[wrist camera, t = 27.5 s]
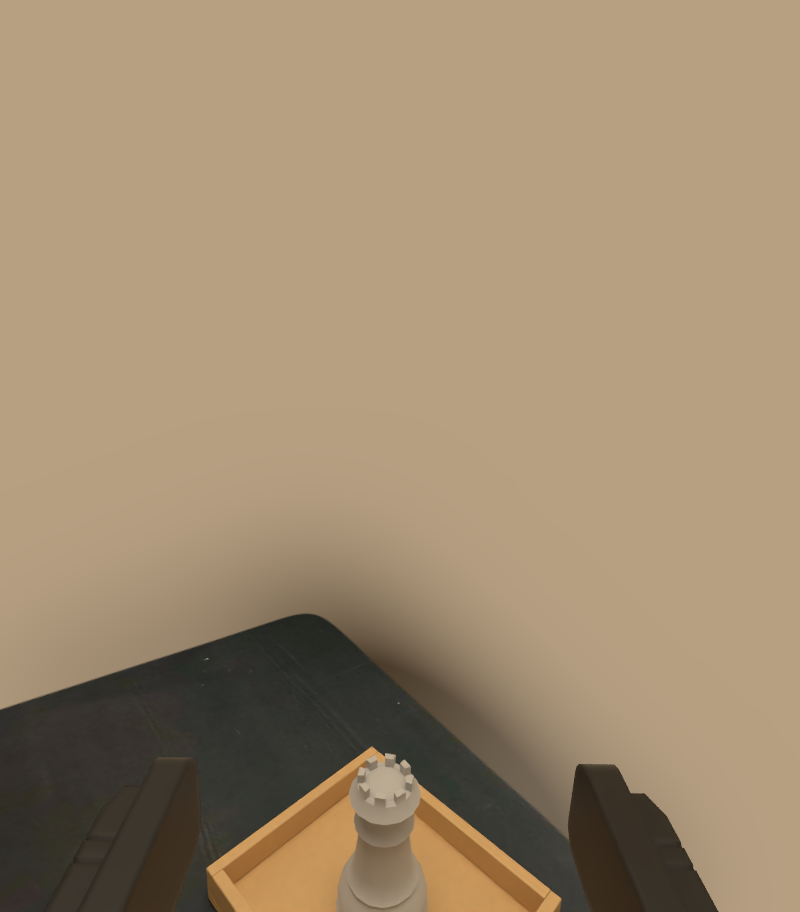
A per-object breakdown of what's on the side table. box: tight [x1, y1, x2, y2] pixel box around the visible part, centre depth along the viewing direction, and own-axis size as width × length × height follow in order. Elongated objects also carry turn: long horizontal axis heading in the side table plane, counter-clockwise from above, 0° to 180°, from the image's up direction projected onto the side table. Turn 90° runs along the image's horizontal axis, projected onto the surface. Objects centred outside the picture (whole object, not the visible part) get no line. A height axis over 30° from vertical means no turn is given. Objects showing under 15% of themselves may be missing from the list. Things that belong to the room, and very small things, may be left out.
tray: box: [206, 747, 561, 912], centre depth 27 cm, size 13×11×2 cm
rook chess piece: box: [336, 753, 428, 912], centre depth 26 cm, size 4×4×8 cm
